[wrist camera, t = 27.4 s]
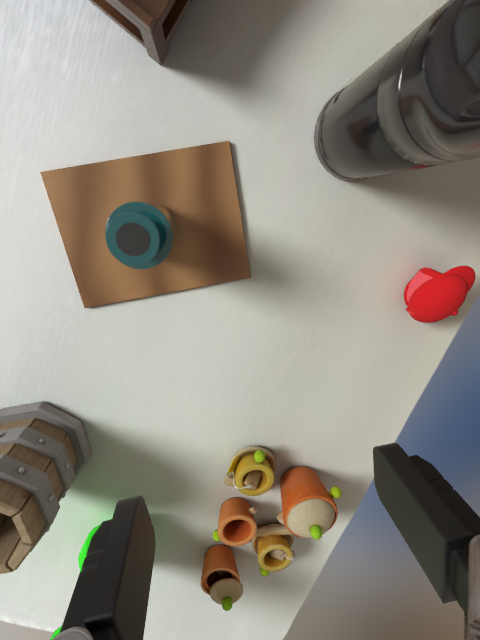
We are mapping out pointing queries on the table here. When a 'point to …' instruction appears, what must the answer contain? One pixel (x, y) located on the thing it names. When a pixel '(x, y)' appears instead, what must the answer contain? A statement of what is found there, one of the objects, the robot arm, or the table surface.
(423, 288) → the red toy helmet
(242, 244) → the placemat
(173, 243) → the vase
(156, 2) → the rack
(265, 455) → the toy tea set
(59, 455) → the tankard
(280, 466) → the table surface
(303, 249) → the table surface
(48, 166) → the table surface
